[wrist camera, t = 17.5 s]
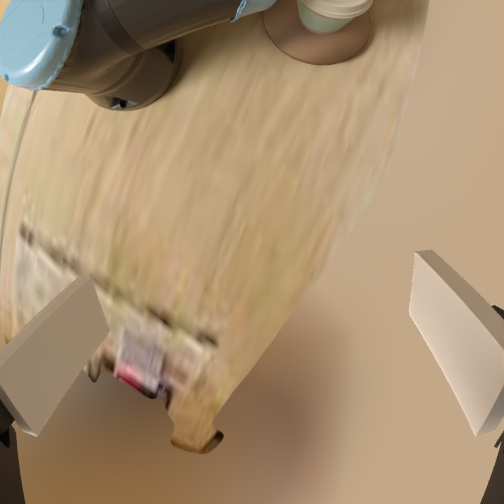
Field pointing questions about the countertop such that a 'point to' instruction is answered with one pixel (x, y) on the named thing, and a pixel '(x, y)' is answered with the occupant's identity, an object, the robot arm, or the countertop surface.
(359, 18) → the walnut trivet
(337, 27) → the coffee cup
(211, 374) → the countertop surface
